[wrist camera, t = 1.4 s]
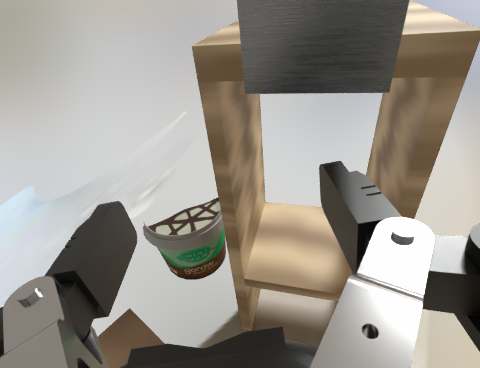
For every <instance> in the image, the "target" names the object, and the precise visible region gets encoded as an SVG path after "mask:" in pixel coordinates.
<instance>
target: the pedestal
mask: <svg viewBox="0 0 480 368" xmlns="http://www.w3.org/2000/svg"><path fill="white" fill-rule="evenodd" d="M97 338H98V340H99V343H100V346H101V348H102V351H103V354H104V356H105V359H106V362H107V365H108V367H109V368H119V367H121V366H123V365H125V364H127V362H128V359H129V355H130V352H131V349H135V348H142V347H148V346H155V345H162V344H164V343H163V342H162V341H161V340H160V339H159V338H158V337H157V336H156V335H155V334H154V333H153V332H152V331H151V329H150V328H148V326H147V325H146V324H145V323H144V322H143V321H142V320H141V319H140V318H139V317H138V316H137V315H136V314H135V313H134V312H133V311H132V310H131V309H129V310H127V311H126V312H125V313H124V314H123V315H122V316H121V317H119V318H118V319H117V320H116V321H115V322H114V323H113V324H112V325H110V326H109V327H108V328H107V329H106V330H105V331H104V332H102V333H101V334H100V335H99V336H98V337H97Z"/></svg>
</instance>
